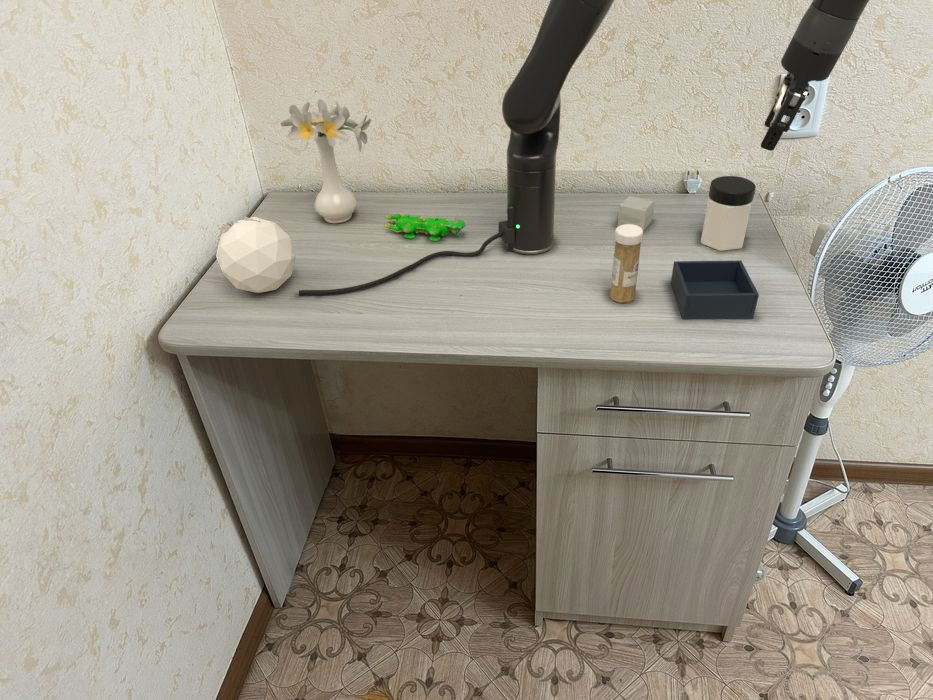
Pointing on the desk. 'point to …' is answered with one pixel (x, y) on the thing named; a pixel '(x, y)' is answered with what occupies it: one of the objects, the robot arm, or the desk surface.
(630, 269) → the sprinkles bottle
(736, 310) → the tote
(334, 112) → the flower vase
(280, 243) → the geodesic sphere
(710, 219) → the jar
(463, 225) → the crocodile figurine
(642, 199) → the small box
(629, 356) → the desk surface
